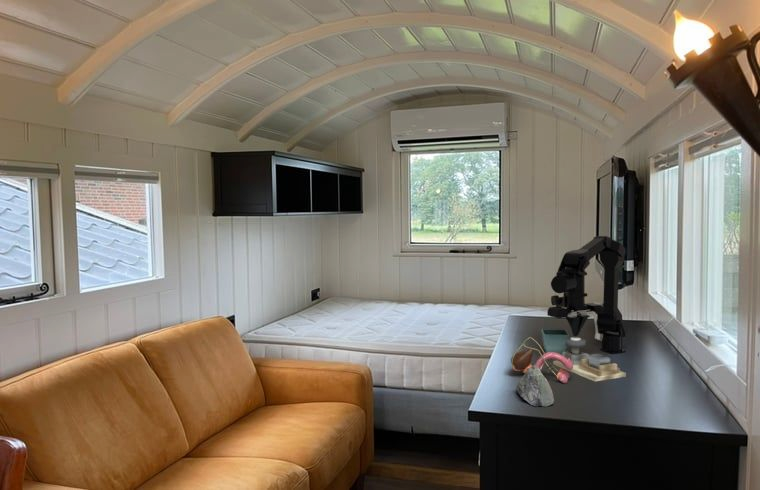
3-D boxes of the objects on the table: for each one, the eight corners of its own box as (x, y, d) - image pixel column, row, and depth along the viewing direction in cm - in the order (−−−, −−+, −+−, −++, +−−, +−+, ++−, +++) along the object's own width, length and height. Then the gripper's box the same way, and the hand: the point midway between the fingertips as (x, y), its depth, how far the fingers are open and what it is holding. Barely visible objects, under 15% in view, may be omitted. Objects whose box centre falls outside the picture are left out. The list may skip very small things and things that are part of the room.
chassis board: (581, 360, 186) (581, 348, 186) (625, 376, 167) (626, 363, 167) (553, 364, 182) (553, 352, 182) (594, 381, 163) (594, 368, 163)
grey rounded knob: (576, 350, 184) (576, 335, 184) (589, 355, 178) (589, 339, 178) (561, 352, 182) (561, 337, 181) (574, 357, 176) (574, 341, 175)
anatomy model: (578, 376, 157) (539, 331, 161) (539, 405, 163) (501, 361, 167) (582, 365, 167) (544, 324, 171) (544, 393, 173) (509, 352, 177)
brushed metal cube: (598, 367, 173) (598, 353, 172) (610, 372, 168) (610, 356, 168) (588, 369, 171) (588, 354, 171) (599, 373, 167) (599, 358, 166)
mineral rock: (517, 389, 158) (517, 356, 157) (556, 393, 154) (555, 359, 153) (512, 405, 146) (511, 368, 145) (553, 409, 142) (553, 372, 141)
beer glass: (597, 336, 220) (597, 300, 219) (615, 338, 215) (615, 301, 214) (590, 339, 215) (590, 302, 214) (607, 341, 210) (607, 304, 209)
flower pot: (569, 360, 187) (569, 334, 186) (543, 359, 188) (543, 334, 188) (566, 353, 195) (566, 329, 195) (541, 352, 197) (541, 328, 196)
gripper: (581, 284, 189) (581, 328, 190) (537, 288, 183) (537, 333, 184) (604, 288, 179) (604, 334, 180) (558, 293, 172) (558, 340, 173)
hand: (575, 335), depth 179 cm, fingers closed
